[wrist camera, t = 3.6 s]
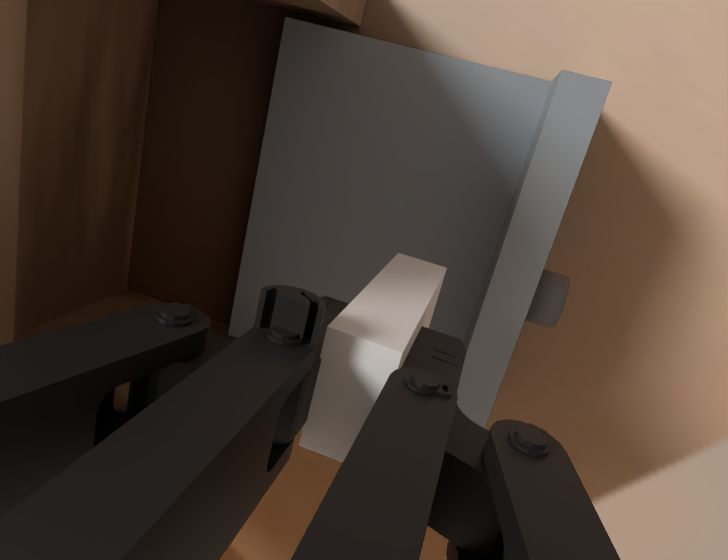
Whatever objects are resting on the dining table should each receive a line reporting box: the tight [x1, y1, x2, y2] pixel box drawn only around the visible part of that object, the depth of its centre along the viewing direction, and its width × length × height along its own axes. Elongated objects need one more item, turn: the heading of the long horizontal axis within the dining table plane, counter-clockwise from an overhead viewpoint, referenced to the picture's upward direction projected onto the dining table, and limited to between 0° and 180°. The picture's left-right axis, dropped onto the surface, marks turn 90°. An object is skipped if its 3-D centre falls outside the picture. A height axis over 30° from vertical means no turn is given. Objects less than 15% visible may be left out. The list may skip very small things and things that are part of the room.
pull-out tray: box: [228, 17, 612, 429], centre depth 23 cm, size 14×15×6 cm
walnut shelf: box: [0, 0, 366, 408], centre depth 19 cm, size 12×20×20 cm, turn 165°
